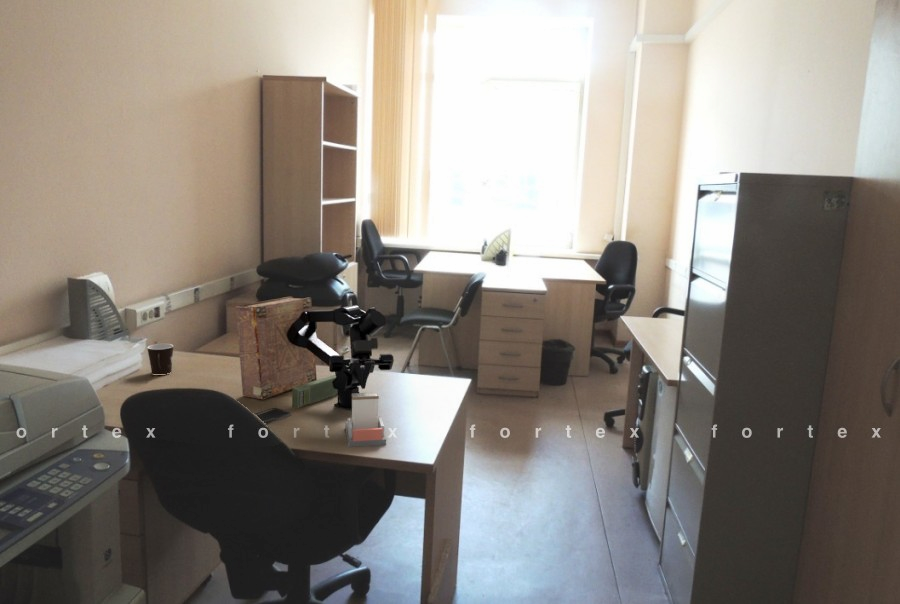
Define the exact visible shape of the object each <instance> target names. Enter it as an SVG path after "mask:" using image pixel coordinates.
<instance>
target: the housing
mask: <svg viewBox="0 0 900 604" xmlns="http://www.w3.org/2000/svg"><path fill="white" fill-rule="evenodd" d="M344 427H345V433H346V438H347V444H348V447H349V448H353V447H366V446H367V447H370V446H372V447H373V446H385V445H387V438H386V436H385V425H384V422H383V418H382V416H379V415H378V428H369V429H353V430H352V418H351V417H347V421H346V423H345V425H344Z"/></svg>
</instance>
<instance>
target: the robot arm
mask: <svg viewBox="0 0 900 604" xmlns="http://www.w3.org/2000/svg"><path fill="white" fill-rule="evenodd" d="M307 323H309V324H307ZM318 323H335V324H336V325H339V326H343V327H345V326H349V325H352V326H349V327H348V329H347V330H346V331H345V336H348V337H349V344H350V355H351V357H348V358H345V357H344V355H343V354H339V353H337V351H335V350H334V349H333V348H332V347H330V346H328V345H327V343H325V342H324V341H322V340H321V339H319V337H318V336H317V329H318ZM386 324H387V319H386V317H385V315H383V313H381V312H380V311H379V310H376V308H375V307H371V308H369V309H367V310H366V311H364V310H363V309H361V308H360V307H359V305H357V304H353V305H347V306H343V307H337V308H334V309H313V308H312V310H307V311H304V312H302V313H301V315H300V317H299V318H298V319H297V320H296V321H295V322H294V323H293V324H292V325H291V327H290V328H289V330H288V333H287V338H288V340H289V342H290V343H291V344H293V345H295V346H297V347H302V348H306V349H308V350H309V351H310V352H312V353H313V354H314V355H315V357H317V358H318V359H319V361H322V362H323V363H325V365H327V366H328V367H329V373H334V375H336V378H335V379H334V380H333V381H332V384H333V388H334V389H338V394H337V402H335V403H334V404H333V406H334V407H338V408H341V409H345V410H352V393H360V388H361V389H362V390H365V389H366V386H367V381H368V378H369V376H370V374H372V373H374V370H375V366H378V367H377V368H378V369H379V370H380V371H390V370H392V369H393V365H394V361H395V360H394V355H393V354H392V353H380V354H379V357H378V358H371V357H372V355H373V353H372V352H373V350H377V349H378V348H379V342H378V341H379V340H378V337H371V339H369V338H370V337H369V336H374V335H375V334H376V333H377V332H379V331H380V330H381V329H382V328H384V327H385V326H386Z"/></svg>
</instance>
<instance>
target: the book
mask: <svg viewBox="0 0 900 604" xmlns="http://www.w3.org/2000/svg"><path fill="white" fill-rule="evenodd" d="M312 305H313V303H312V297H309V296H308V297H304V298H295V297H293V296H286V297H280V298H275V299H274V298H273V299H269V300H263V301H258V302H252V303H246V304H242V305H236V306H235V311H236V324H237V325H236V326H237V339H238V340H237V341H238V350H239V364H240V378H241V388H242V389H241V390H242V396H243V397H246V398H247V397H248V398H253V399H257V400H265V399H266V400H267V399H268V398H271V397H275V396H277V395H280V394H283V393H285V392H289V391H292V388H293V387H297V386H300V385H303V384H306V383H310V382H313V381H316V380H318V378H317V367H316V364H317V363H316V356H315V355H314V354H313V353H312V352H310V351H309V350H308V349H306V348H302V347H297V346H295V345H293V344H291V343H290V342H289V340H288V338H287V333H288V330H289V328H290V327H291V325H292V324H293V323H294V322H295V321H296V320H297V319H298V318H299V317H300V315H301V313H302V312H304V311H307V310H313V306H312ZM307 324H309V323H307Z"/></svg>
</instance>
